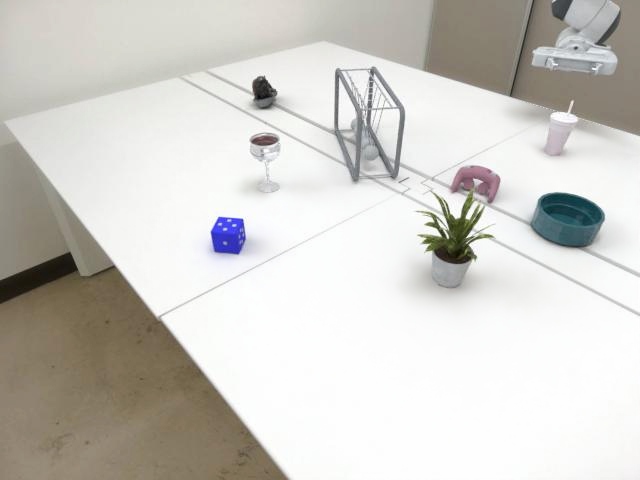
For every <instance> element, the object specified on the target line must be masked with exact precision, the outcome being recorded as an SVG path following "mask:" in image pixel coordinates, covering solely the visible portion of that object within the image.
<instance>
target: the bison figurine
mask: <svg viewBox="0 0 640 480" xmlns="http://www.w3.org/2000/svg"><path fill="white" fill-rule="evenodd" d="M251 89H252V93H253V97H254V98H253V100H252V101H253V103H254V104H255V105H256V106H257V107H259V108H265V107H268V106H270V105H271V104H272V103H273V102H274V101H275V100H274V99H275V98H276V97H277V96H278V90H277V89H276V88H273V86H272V85H271V83H270V82H269V80H268V79H267V78H266V75H259V76H257V77H256V78H253V80H252V82H251Z"/></svg>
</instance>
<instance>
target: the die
mask: <svg viewBox="0 0 640 480" xmlns="http://www.w3.org/2000/svg"><path fill="white" fill-rule="evenodd" d="M244 221H245V220H244V218H239V217H229V216H218V217H217V219H216V221H215V223H214V224H213V226H212V228H211V230H210V237H211V241H212V247H213V251H214V253H224V254H234V255H240V254H241V251H242V249H243V246H244V244H245V242H246V239H247V235H246V228H245V222H244Z"/></svg>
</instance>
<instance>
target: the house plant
mask: <svg viewBox="0 0 640 480" xmlns="http://www.w3.org/2000/svg"><path fill="white" fill-rule="evenodd" d="M427 190H429V192H430V193H432V195H433V196H434V197H435V198H436V200H437V201H438V203H439V206H440V208H441V211H442V214H443V217H444V219H445V222H446V224H447V226H446V224H445V223H444V221H443V220H442V219H441V218H440V217H439V216H437V215H436V214H435V213H433V212H431V211H426V210H425V211H424V210H415V211H414V212H415V213H420V214H423V216H426V217H429V218H432V221H428V222H426V223H424V224H423V226H426V227H431V228H433V229H436V230H437V232H438V233H439V235H434V234H427V233H425V234H420V233H419V234H417V237H420V238H424V239H423V240H422V241H421V243H420V244H419V245H427V247H426V249H425V250H424V252H423V254H425V253H427V252H431V270H432V271H431V274H432V275H431V276H432V280H433V281H434V282H435V283H436V284H437V285H439V286H440V287H443V288H448V289H449V288H457V287H458V286H459V285H461V283H462V282H463V280H464V278H465V276H466V273H467V271H468V270H469V268H470V266H471V265H472V262H473V260H474V263H476V262H477V259H478V256H477V255H476V254H475V251H474V249H473V248H472V247H471V246H470V244H472V243H473V242H475V241H477V240H483V239H489V238H492V239H495V240H497V239H496V237H495V236H494V235H492V234H489V233H484V234H479V233H481V232H483V231H485V230H486V229H488V228H489V227H492V226H494V225H495V223H493V224H490V225H488V226H486V227H484V228H482V229H480V230H478V231H476V232H475V233H474V234H472V235H470V234H471V233H472V231H473V229H474V228H475V226H476V224H478V222H479V221H480V219H481V217H482V215H483V213H484V211H485V208H486V204H484V205H483V206H482V208H481V203H482V200H479V202H478V204H477V206H476V207H475V209H474V210H473V213H472V214H471V216H470V218H469V219H468V218H467V216H468V213H469V211H470V210H471V208H472V206H473V204H474V203H475V202H477V200H478V199H479V198H474V192H475V186H474V187H473V188H472V189H470V190H469V192H468V194H467V196H466V198H465V201H464V203H463V205H462V207H461V211H460V217H457V218H456V217H455V216H454V215H453V214H452V213H451V211H450V207H449V203H448V202H447V201H446V200H445V199H444V197H442V196H440V195H438V194H437V193H436V192H434V191H432V190H430V189H429V188H428V189H427ZM480 208H481V209H480ZM440 223H441V224H442V225H443V226H444V227H445V228H444V227H441V225H440ZM447 235H448V237H447ZM469 235H470V236H469ZM468 236H469V237H468Z"/></svg>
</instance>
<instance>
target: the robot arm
mask: <svg viewBox="0 0 640 480" xmlns="http://www.w3.org/2000/svg"><path fill="white" fill-rule="evenodd" d="M550 9H551V14H552V17H553V18H556V19H557V20H558V21H559V20H560V21H561V22H564V23H565V24H567V25H568V27H566V28H564V29H563V30H562V31H561V32H560V33H559V35H558V36H557V38H556V41H555V44H554V47H552V46H538V47H537V48H536V49H533V50H532V52H531V53H532V54H531V55H532V56H533V57H532V60H531V66H533V67H537V68H545V69H546V68H547V69H549V71H551V72H552V71H555V72H556V71H557V70H560V71H562V72H565V73H573V72H574V73H575V72H578V73H588V74H589V76H594V77H595V76H597V75H603V76H611V75H612V76H613V74H614V73H615V70H616V69H617V66H618V62H619V60H618V57H617V55H616V53H615V52H613V51H612V46H611V45H608V44H606V41H608V39H609V38H610V37H611V36H612V35H613V34H614V33H615V31H616V30H617V28H618V27H619V24H620V22H621V17H622V8H621V7H620V6H619V5H618V4H616V3H614V2H613V1H612V0H551V2H550ZM604 43H605V44H604Z"/></svg>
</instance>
